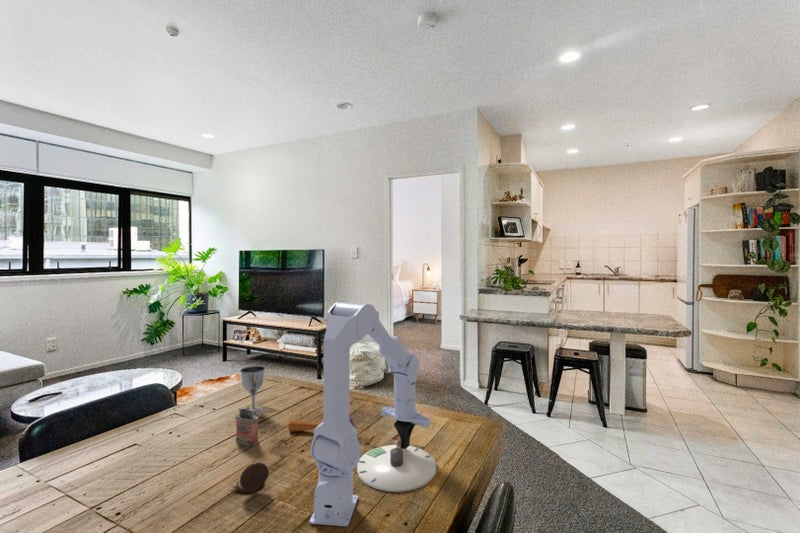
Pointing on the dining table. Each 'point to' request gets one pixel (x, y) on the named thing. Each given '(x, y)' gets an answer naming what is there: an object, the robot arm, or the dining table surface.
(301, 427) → the kendama
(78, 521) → the dining table surface
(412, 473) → the gauge dial
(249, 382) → the wine glass
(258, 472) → the compass
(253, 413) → the lighter
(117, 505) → the dining table surface
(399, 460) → the tuning pointer
